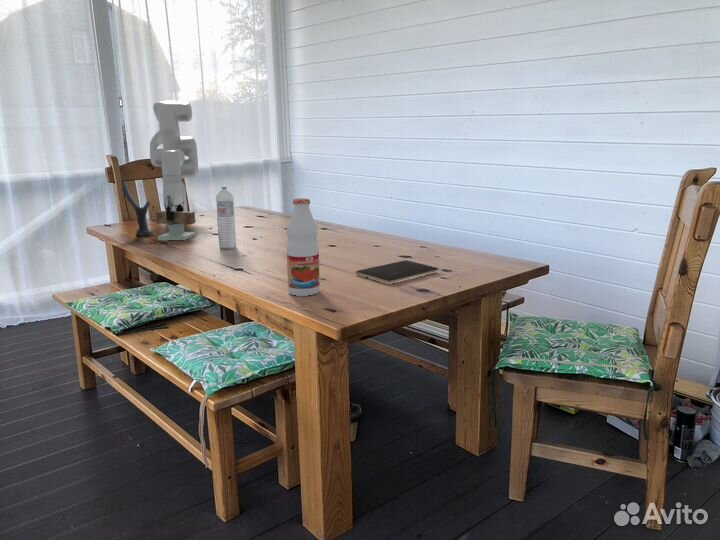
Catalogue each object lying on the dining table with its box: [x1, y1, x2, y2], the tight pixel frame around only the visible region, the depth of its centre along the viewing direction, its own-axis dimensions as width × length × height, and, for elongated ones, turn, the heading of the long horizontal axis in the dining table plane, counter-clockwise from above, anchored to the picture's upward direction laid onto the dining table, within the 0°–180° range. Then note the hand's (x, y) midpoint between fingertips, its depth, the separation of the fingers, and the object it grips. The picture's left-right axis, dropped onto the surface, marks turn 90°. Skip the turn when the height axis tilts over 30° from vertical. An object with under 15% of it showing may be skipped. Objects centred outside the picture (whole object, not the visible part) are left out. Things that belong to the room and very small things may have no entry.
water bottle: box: [215, 185, 237, 250], centre depth 232 cm, size 7×7×25 cm
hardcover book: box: [355, 259, 440, 283], centre depth 194 cm, size 16×23×2 cm
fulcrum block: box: [157, 224, 197, 241], centre depth 255 cm, size 12×12×6 cm
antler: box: [120, 180, 154, 238], centre depth 257 cm, size 12×8×25 cm
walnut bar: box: [155, 210, 196, 225], centre depth 254 cm, size 16×4×5 cm, turn 82°
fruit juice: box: [286, 198, 321, 297], centre depth 170 cm, size 9×9×28 cm
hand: (175, 218), depth 254 cm, fingers open, 9 cm apart
